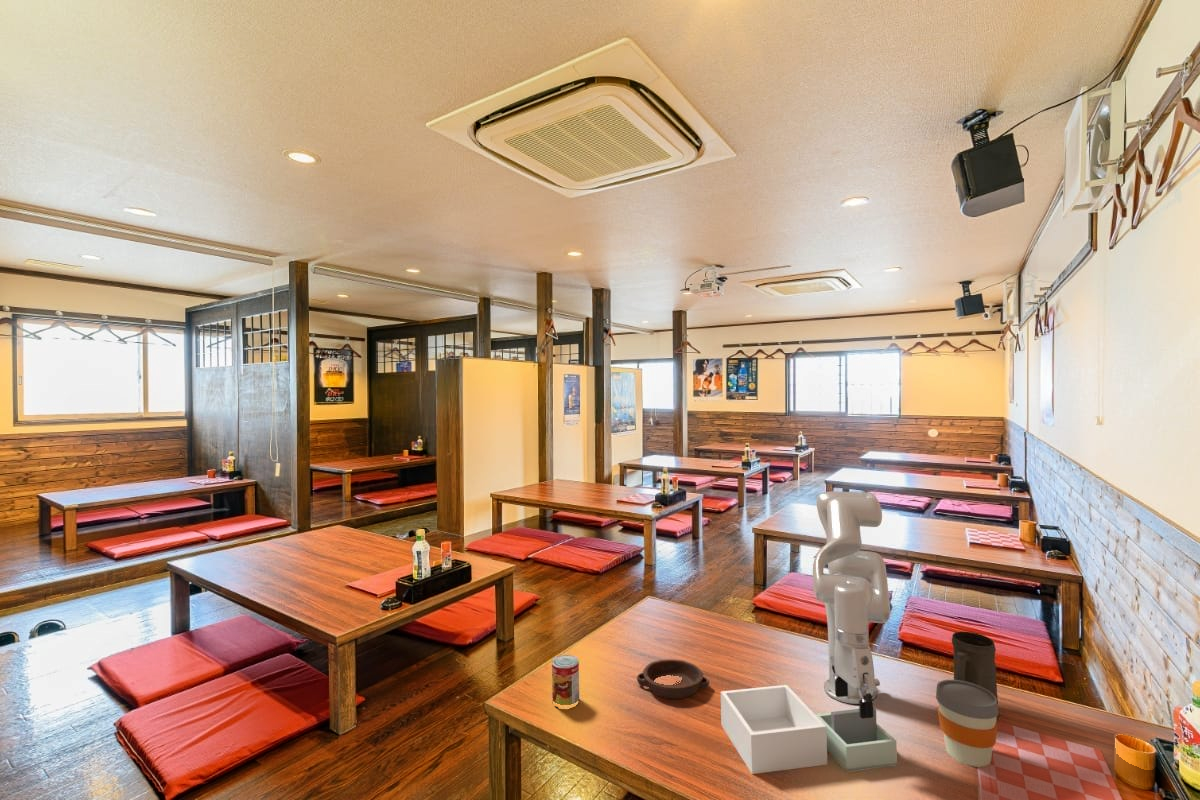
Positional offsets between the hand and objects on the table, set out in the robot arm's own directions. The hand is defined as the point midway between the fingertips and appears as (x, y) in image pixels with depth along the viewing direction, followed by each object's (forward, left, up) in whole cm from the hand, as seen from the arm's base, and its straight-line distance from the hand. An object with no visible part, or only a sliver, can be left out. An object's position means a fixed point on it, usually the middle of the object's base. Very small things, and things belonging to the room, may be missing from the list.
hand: (853, 706), depth 128 cm
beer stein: (-42, -10, -11) cm, 45 cm away
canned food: (+69, -35, -12) cm, 78 cm away
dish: (+36, -37, -12) cm, 52 cm away
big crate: (+19, -7, -11) cm, 23 cm away
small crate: (0, -1, -12) cm, 12 cm away
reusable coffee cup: (-26, +5, -11) cm, 29 cm away
